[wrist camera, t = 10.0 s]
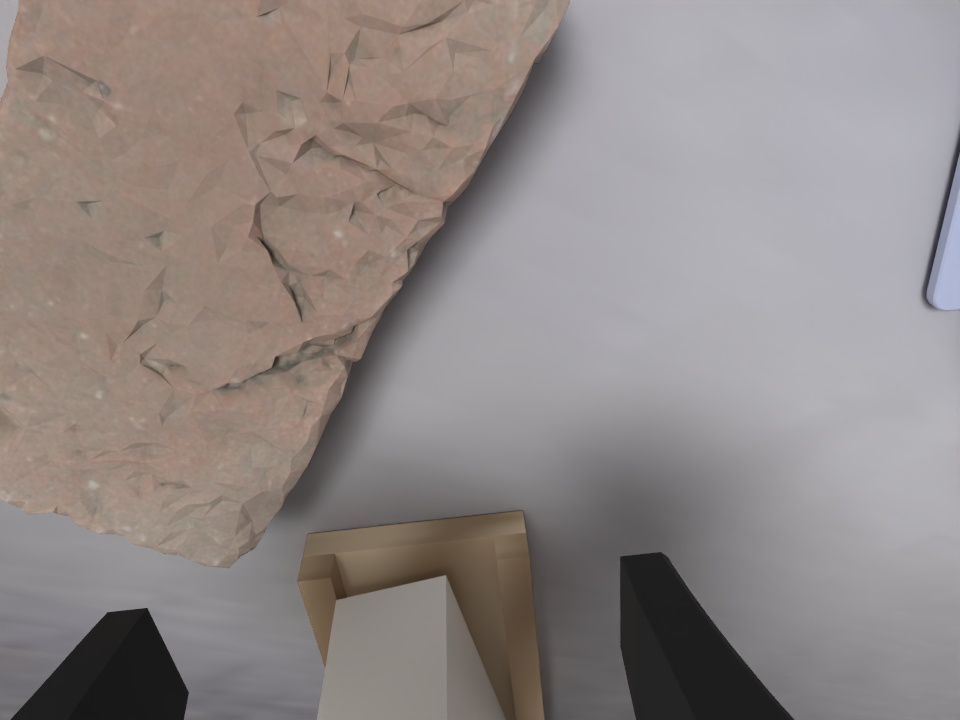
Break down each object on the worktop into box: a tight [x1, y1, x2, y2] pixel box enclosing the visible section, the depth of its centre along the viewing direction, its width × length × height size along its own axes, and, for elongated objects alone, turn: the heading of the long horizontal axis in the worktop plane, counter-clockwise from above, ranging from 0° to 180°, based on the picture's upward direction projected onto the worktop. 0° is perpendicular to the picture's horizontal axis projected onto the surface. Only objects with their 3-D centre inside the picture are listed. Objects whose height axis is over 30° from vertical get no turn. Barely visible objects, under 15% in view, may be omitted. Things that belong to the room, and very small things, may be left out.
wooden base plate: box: [297, 511, 544, 720], centre depth 25 cm, size 7×11×2 cm, turn 6°
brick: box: [0, 0, 570, 568], centre depth 16 cm, size 17×8×5 cm, turn 150°
